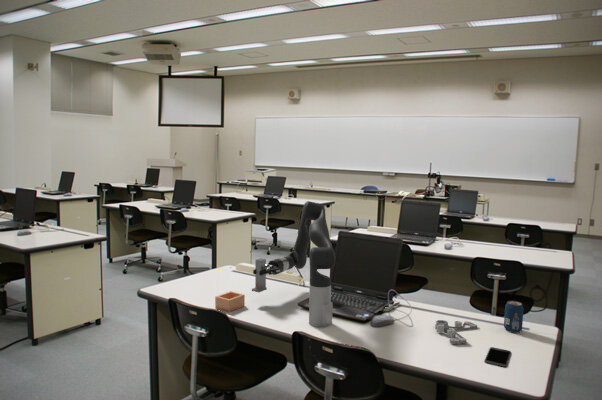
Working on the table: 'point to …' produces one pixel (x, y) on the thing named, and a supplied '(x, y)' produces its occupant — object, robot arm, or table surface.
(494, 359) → the smartphone
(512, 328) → the soda can
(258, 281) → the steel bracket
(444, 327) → the pulley system
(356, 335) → the table surface
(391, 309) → the walkie-talkie
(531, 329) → the table surface
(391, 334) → the table surface
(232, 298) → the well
